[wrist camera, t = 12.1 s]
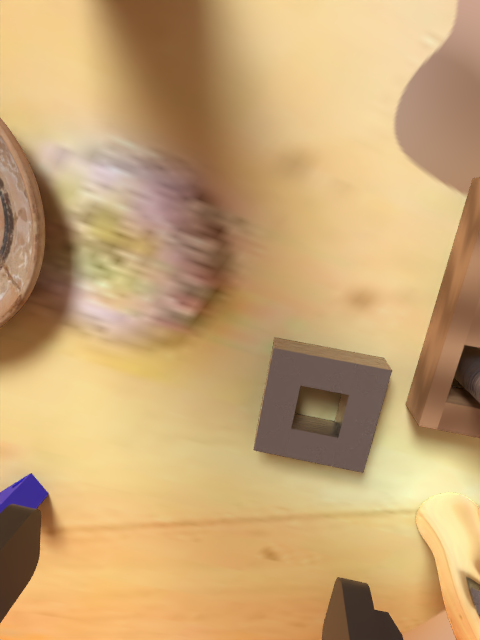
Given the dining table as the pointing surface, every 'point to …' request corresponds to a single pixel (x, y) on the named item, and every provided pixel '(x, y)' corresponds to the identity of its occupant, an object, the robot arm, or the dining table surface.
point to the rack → (452, 334)
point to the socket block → (314, 433)
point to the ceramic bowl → (18, 227)
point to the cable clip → (23, 493)
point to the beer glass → (455, 557)
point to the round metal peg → (469, 371)
